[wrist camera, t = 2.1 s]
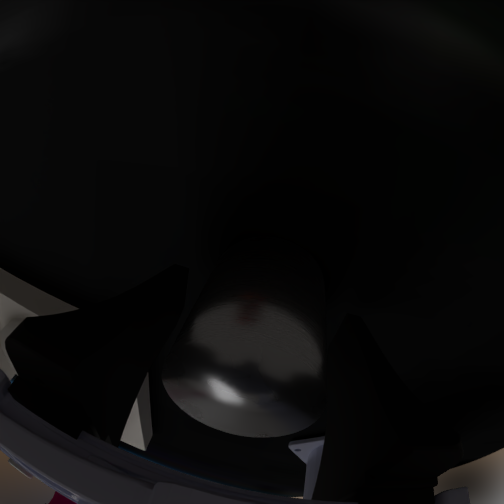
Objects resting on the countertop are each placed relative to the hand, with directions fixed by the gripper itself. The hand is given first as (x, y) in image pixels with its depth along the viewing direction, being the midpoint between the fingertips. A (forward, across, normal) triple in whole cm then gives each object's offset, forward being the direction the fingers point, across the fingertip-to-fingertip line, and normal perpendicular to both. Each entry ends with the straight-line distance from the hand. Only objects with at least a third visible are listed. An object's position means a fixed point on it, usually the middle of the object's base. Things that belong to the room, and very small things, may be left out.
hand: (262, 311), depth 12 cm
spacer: (+2, 0, 0) cm, 2 cm away
